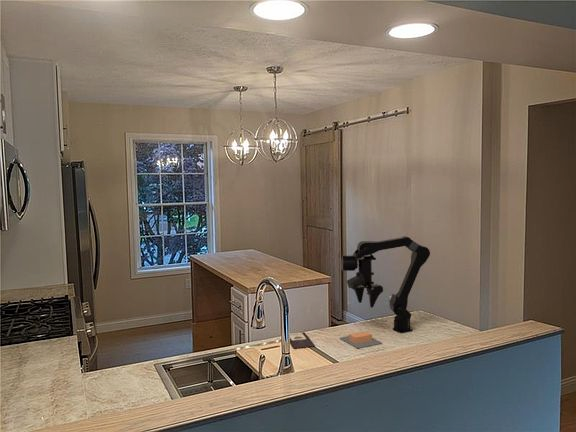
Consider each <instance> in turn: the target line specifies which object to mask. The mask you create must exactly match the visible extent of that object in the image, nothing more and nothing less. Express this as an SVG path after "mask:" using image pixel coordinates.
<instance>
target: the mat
mask: <svg viewBox="0 0 576 432" xmlns="http://www.w3.org/2000/svg"><path fill="white" fill-rule="evenodd" d="M338 339H340V340H341V341H343V342H345V343H346V344H348V345H350V346H351V347H354V348H355V349H356V350H358V349H364V348H369V347H374V346H378V344H379V345H382V343H383V342H382V341H380V340H378V339H376V338H373V337H372V341H367V342H361V343H356V344H355V343H354V342H352V341H350V340H349V335H346V336H342V337H339V338H338ZM373 345H374V346H373Z"/></svg>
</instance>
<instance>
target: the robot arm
mask: <svg viewBox="0 0 576 432" xmlns="http://www.w3.org/2000/svg"><path fill="white" fill-rule="evenodd" d="M401 247H406V248H407V249H408V250H410V251H411V255H410V263H409V266H408V268H407V270H406V274H405V275H404V278H403V280H402V282H401V285H400V288H399V290H398V292H397V293H396V294H394V293H391V294H392V295H391V297H390V299H389V300H388V303H389V309H390V310H391V311H392V312H393V313H394V315H395V316H394V320H393V327H392V330H393V331H395V332H398V333H407V332H414V331H413V328H411V318H412V313H411V311H408V309H407V308H408V301H409V296H410V292H411V291H412V288H413V286H414V284H415V281H416V278H417V276H418V274H419V272H420V270H421V268H422V266H423V265H424V264H426V262H427V261H428V259H429V257H430V256H431V251H430V249H429V247H427V246H424V245H421V244H419V243H417V242H415V241H414V240H413V239H412V238H411V237H409V236H406V235H405V236H400V237H395V238H389V239H384V240H383V239H382V240H380V241H379V240H378V241H375V240H374V241H373V240H363V241H360V242H358V243H357V246H356V250H355V251H354V252H353V254H352V255H350V254H349V255H346V254H343V255H341V261H340V267H341V271H342V272H348V271H349V272H350V271H352V272H353V271H356V270H357V269H358V272H357V271H356V273H355V276H353V277H351V278H349V279H347V280H346V284H347V286H348V288H349V289H351V290H353V291H354V293H355V296H356V298H357V302H358V304H361V303H362V301H363V296H364V292H365V289H366V294H367V296H368V299H369V306H370V308H373V307H374V306H375V304H376V302H377V300H378V298H379V296H380V295H381V294H382V293H383V292H384V287H383V286H382V285H381V284H377V283H376V284H375V282H374V281H373V276H374V274H375V272H373V271H372V269H373V267H372V265H373V264H372V261H376V260H377V258H376V257H375V256H374V255H373V254H375V253H378V252H379V251H383V250H391V249H396V248H401Z"/></svg>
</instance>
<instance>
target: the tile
mask: <svg viewBox="0 0 576 432" xmlns="http://www.w3.org/2000/svg"><path fill="white" fill-rule="evenodd" d="M348 336H349V340H350V341H352V342H354V343H355V344H356V343H361V342H367V341H372V338H373V334H372V333H370V332H367V331H366V330H364V331H359V332H353V333H348Z"/></svg>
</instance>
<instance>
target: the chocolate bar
mask: <svg viewBox="0 0 576 432" xmlns="http://www.w3.org/2000/svg"><path fill="white" fill-rule="evenodd" d="M289 334H290V343H289V344H290V346H291V348H292V349H293V350H297V349H298V350H300V349H310V348H316V345H315V343H314V342H313V341H312V340H311V338H310V337H309V336H308V335H307V334H306V332H303V331H302V332H294V333H293V332H292V333H291V332H290V333H289Z"/></svg>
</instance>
